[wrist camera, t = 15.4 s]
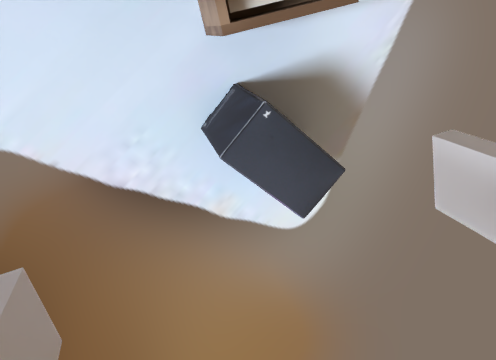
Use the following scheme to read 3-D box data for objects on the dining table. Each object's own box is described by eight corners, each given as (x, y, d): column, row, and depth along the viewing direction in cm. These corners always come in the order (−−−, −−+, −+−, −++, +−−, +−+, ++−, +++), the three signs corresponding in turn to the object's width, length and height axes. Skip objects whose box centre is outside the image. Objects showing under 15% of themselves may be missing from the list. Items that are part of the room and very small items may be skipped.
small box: (196, 130, 43) (215, 159, 33) (234, 80, 42) (265, 95, 32) (268, 184, 47) (303, 223, 37) (304, 139, 46) (349, 168, 37)
